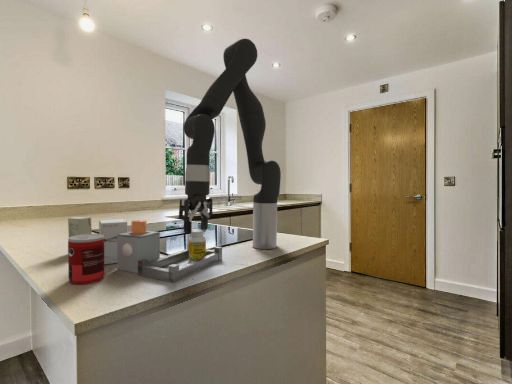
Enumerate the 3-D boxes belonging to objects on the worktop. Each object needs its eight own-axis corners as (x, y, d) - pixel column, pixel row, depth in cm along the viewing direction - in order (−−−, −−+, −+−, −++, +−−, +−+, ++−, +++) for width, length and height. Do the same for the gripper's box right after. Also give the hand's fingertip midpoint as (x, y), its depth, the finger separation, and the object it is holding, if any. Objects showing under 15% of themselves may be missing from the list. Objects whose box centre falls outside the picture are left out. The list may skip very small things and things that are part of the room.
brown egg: (139, 241, 84) (139, 219, 83) (149, 242, 82) (149, 220, 82) (128, 244, 80) (128, 221, 80) (138, 245, 78) (138, 222, 78)
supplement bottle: (201, 257, 92) (202, 228, 92) (208, 261, 88) (208, 231, 88) (186, 259, 89) (186, 230, 89) (192, 264, 85) (192, 232, 85)
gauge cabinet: (139, 261, 87) (139, 229, 86) (159, 265, 83) (159, 232, 83) (116, 269, 79) (116, 234, 79) (137, 273, 76) (137, 237, 75)
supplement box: (100, 265, 82) (99, 223, 81) (98, 259, 88) (98, 219, 88) (127, 262, 86) (127, 221, 85) (124, 256, 92) (124, 218, 92)
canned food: (78, 274, 75) (78, 233, 74) (110, 274, 75) (109, 233, 75) (61, 285, 67) (60, 239, 66) (96, 284, 68) (95, 239, 67)
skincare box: (92, 252, 96) (92, 217, 95) (80, 256, 92) (79, 219, 91) (80, 250, 98) (80, 216, 98) (68, 253, 94) (67, 217, 94)
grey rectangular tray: (191, 254, 96) (191, 242, 96) (222, 259, 91) (222, 247, 91) (137, 275, 75) (137, 260, 75) (174, 282, 70) (174, 266, 70)
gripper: (193, 179, 79) (192, 236, 80) (219, 180, 92) (218, 229, 93) (172, 179, 83) (171, 233, 83) (201, 180, 96) (199, 227, 96)
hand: (196, 231), depth 88 cm, fingers open, 8 cm apart
